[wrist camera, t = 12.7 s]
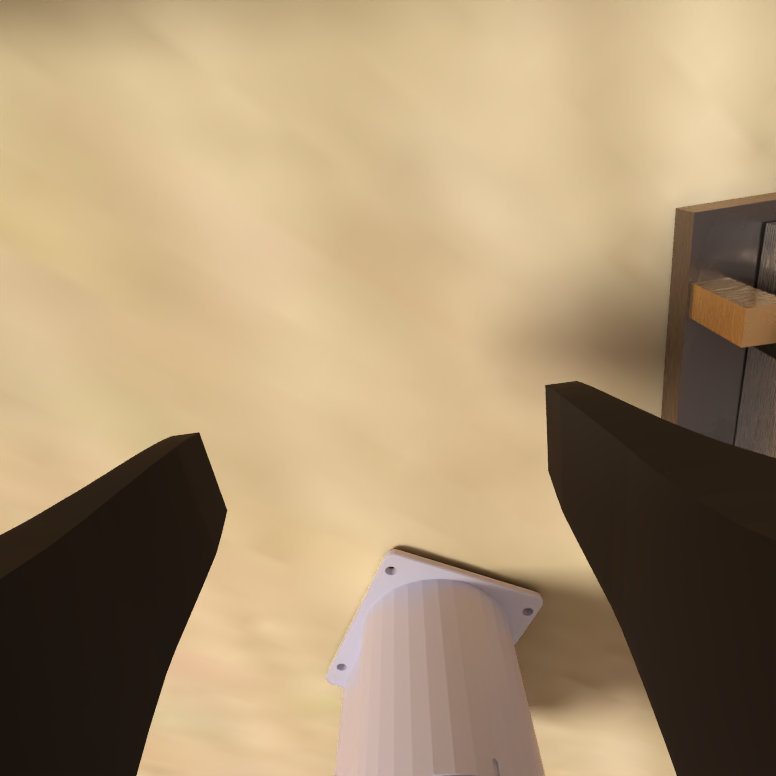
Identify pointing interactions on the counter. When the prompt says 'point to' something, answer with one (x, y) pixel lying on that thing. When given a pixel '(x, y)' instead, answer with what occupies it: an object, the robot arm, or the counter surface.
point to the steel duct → (760, 371)
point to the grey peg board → (715, 312)
